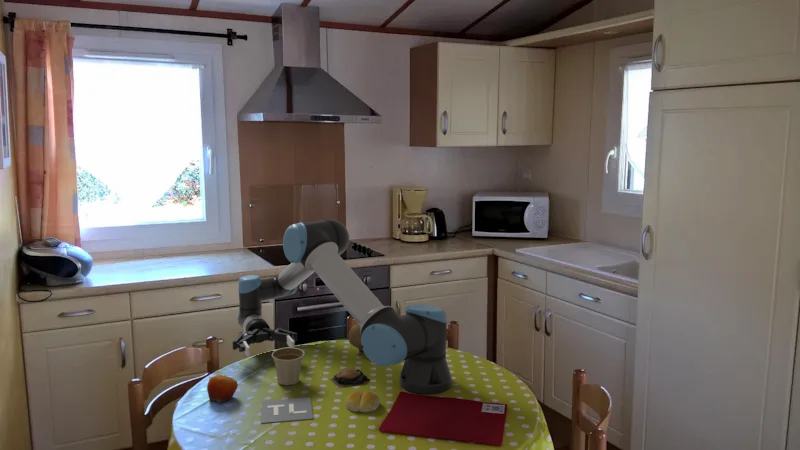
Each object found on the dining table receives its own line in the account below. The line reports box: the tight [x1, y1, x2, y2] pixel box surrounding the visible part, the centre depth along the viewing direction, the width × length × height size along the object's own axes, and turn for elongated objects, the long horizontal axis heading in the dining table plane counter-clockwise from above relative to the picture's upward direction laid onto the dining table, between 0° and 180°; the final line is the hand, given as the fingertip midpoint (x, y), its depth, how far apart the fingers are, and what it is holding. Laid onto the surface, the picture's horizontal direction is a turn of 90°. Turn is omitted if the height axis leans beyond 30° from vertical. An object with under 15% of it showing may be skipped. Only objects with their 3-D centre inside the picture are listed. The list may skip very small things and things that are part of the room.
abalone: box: [329, 368, 371, 389], centre depth 182 cm, size 11×8×4 cm
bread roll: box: [345, 390, 381, 414], centre depth 164 cm, size 8×9×4 cm
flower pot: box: [271, 347, 305, 386], centre depth 180 cm, size 9×9×9 cm
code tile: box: [260, 396, 314, 424], centre depth 162 cm, size 13×13×1 cm
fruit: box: [206, 374, 239, 406], centre depth 168 cm, size 8×8×8 cm
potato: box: [348, 322, 364, 352], centre depth 206 cm, size 9×9×10 cm
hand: (271, 349), depth 186 cm, fingers open, 13 cm apart
